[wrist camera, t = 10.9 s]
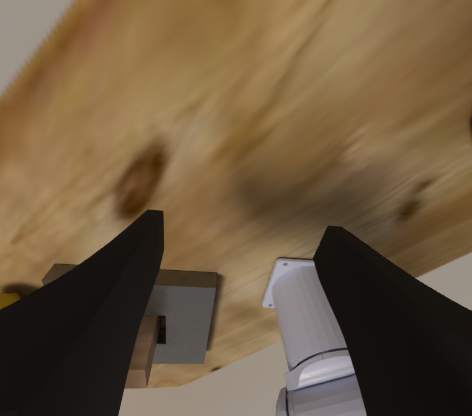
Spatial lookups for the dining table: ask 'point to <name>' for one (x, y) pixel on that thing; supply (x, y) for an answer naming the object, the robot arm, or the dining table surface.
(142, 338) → the brown rectangular block
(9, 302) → the lemon
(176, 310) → the grey plate with hole
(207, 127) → the dining table surface
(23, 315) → the robot arm
